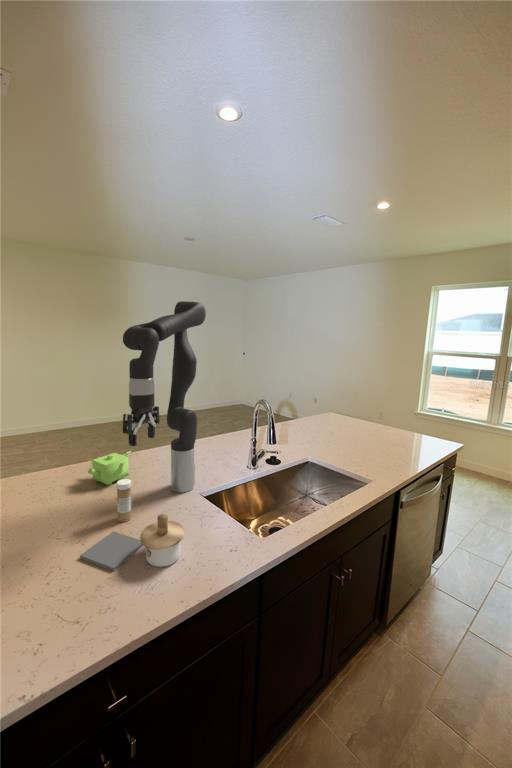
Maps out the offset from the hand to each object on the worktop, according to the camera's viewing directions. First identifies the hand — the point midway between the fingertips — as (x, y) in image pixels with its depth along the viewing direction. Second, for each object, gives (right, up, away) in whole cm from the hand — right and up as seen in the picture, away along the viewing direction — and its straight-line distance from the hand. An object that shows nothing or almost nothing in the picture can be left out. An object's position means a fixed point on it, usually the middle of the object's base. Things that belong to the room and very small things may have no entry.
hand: (142, 441), depth 102 cm
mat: (-5, -30, -10) cm, 32 cm away
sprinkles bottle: (-8, -27, +6) cm, 29 cm away
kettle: (-24, -23, +33) cm, 47 cm away
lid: (+10, -25, -11) cm, 29 cm away
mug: (+9, -31, -10) cm, 34 cm away
